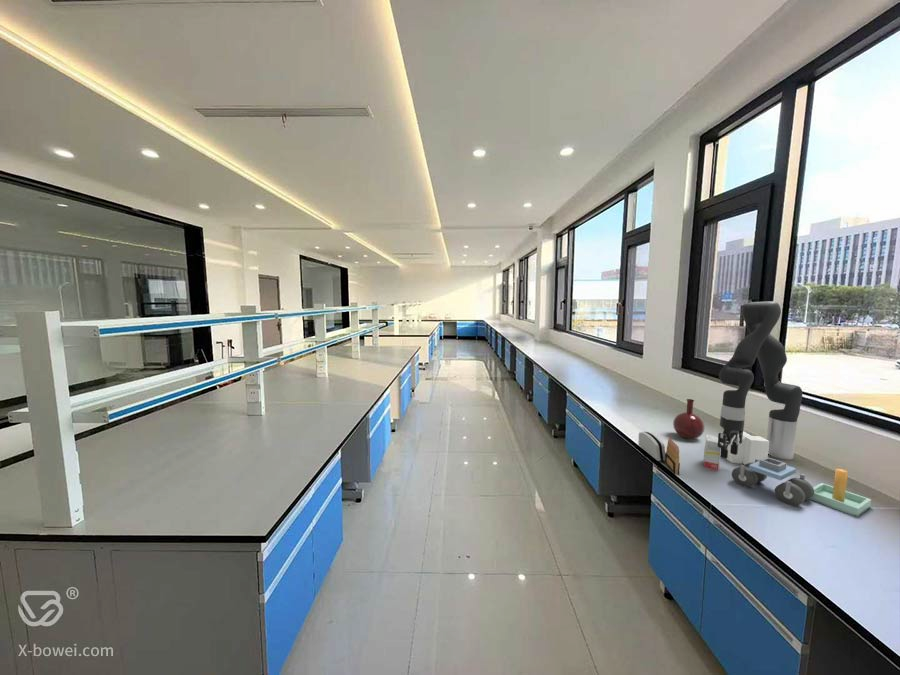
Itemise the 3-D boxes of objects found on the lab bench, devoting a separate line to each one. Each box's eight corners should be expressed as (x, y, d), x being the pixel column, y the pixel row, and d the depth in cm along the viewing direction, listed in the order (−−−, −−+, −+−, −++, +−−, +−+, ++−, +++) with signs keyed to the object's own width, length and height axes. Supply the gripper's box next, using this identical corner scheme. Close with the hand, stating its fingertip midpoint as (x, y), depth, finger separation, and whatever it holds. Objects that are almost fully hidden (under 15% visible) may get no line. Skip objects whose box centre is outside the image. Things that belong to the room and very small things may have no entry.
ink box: (718, 471, 143) (721, 443, 141) (704, 467, 145) (706, 440, 144) (717, 463, 150) (719, 436, 148) (703, 460, 152) (705, 434, 151)
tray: (820, 490, 128) (821, 482, 128) (870, 507, 117) (871, 499, 117) (806, 498, 123) (807, 490, 122) (857, 517, 112) (858, 508, 112)
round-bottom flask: (702, 436, 179) (705, 398, 177) (704, 445, 168) (707, 405, 166) (672, 431, 186) (674, 395, 184) (672, 439, 175) (675, 401, 173)
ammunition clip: (679, 475, 139) (681, 447, 137) (674, 475, 139) (676, 446, 138) (669, 463, 149) (671, 436, 148) (664, 463, 149) (666, 436, 148)
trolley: (745, 475, 139) (748, 448, 137) (814, 501, 121) (818, 469, 120) (729, 482, 133) (732, 453, 132) (799, 510, 115) (802, 477, 114)
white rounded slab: (669, 463, 149) (668, 441, 148) (658, 464, 149) (656, 442, 148) (648, 447, 165) (647, 427, 164) (638, 448, 166) (637, 428, 165)
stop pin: (833, 497, 122) (837, 468, 121) (845, 501, 119) (849, 471, 118) (830, 499, 121) (834, 469, 119) (842, 504, 118) (846, 473, 117)
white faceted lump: (766, 469, 144) (769, 441, 143) (735, 466, 147) (738, 439, 145) (750, 457, 155) (752, 431, 154) (721, 455, 157) (723, 430, 156)
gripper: (731, 411, 146) (727, 449, 148) (712, 416, 140) (708, 455, 141) (752, 416, 139) (748, 456, 141) (734, 422, 133) (730, 463, 135)
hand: (728, 455), depth 141 cm, fingers open, 7 cm apart
